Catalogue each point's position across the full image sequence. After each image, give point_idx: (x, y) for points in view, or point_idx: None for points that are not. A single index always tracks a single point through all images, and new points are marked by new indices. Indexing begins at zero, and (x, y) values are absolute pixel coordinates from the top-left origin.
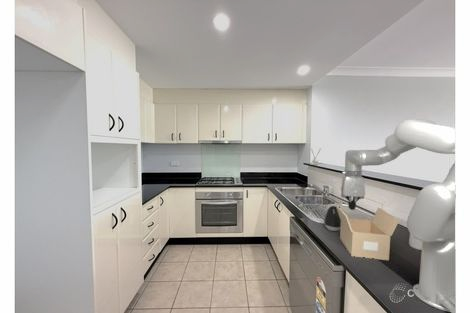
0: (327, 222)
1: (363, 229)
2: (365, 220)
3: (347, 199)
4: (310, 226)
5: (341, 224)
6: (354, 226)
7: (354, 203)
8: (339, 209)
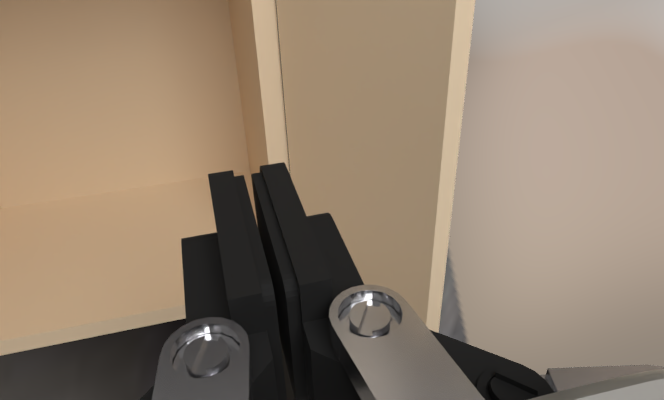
0: None
1: (46, 260)
2: (4, 340)
3: (465, 346)
4: (445, 291)
5: None
6: (142, 259)
7: (236, 271)
8: (447, 221)
